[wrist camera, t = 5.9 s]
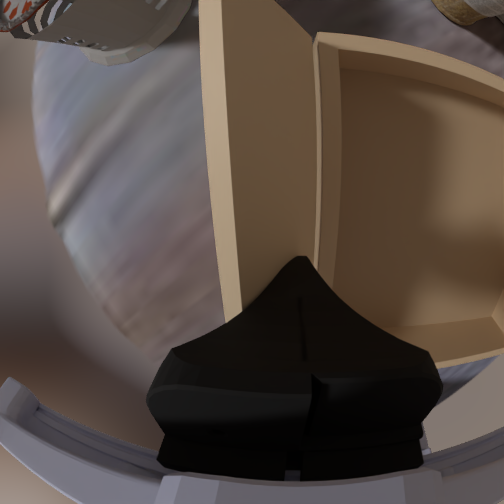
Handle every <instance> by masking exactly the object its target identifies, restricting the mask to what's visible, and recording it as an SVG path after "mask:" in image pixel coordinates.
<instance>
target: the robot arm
mask: <svg viewBox="0 0 504 504" xmlns="http://www.w3.org/2000/svg"><path fill="white" fill-rule="evenodd" d="M442 390H443V384H442V381H441V379H440V376H439V373H438V370H437V368H436V365H435V363H434V361H433V359H432V357H431V355H430V353H429V351H427V350H424V349H422V348H420V347H417V346H415V345H413V344H410V343H408V342H406V341H403V340H401V339H399V338H397V337H395V336H393V335H391V334H390V333H388V332H386V331H384V330H382V329H381V328H379V327H377V326H376V325H374V324H373V323H371V322H370V321H368V320H367V319H365V318H364V317H362V316H361V315H360V314H358V313H357V312H356V311H354V310H353V309H352V308H351V307H350V306H349V305H347V304H346V303H345V302H344V301H343V300H342V299H341V298H340V297H339V296H338V295H337V294H336V293H335V292H334V291H333V290H332V289H331V288H330V287H329V286H328V284H327V283H326V282H325V281H324V279H323V278H322V277H321V276H320V274H319V273H318V272H317V270H316V269H315V267H314V266H313V264H312V263H311V261H310V259H309V258H308V257H307V256H296V257H294V258H293V259H291V260H290V261H289V262H288V263H287V264H286V265H285V266H284V267H282V269H281V270H280V271H279V272H278V274H277V275H276V276H275V277H274V279H273V280H272V281H271V282H270V284H269V285H268V286H267V287H266V288H265V289H264V291H263V292H262V293H261V294H260V295H259V296H258V297H257V298H256V299H255V300H254V301H253V302H252V303H251V304H250V305H249V306H248V307H247V308H246V309H244V310H243V311H242V312H241V313H239V314H238V315H237V316H235V317H234V318H233V319H231V320H230V321H228V322H227V323H225V324H223V325H222V326H220V327H218V328H217V329H215V330H213V331H211V332H209V333H207V334H205V335H203V336H201V337H199V338H197V339H194V340H192V341H189V342H187V343H185V344H182V345H180V346H177V347H174V348H172V349H171V350H170V352H169V354H168V355H167V357H166V358H165V360H164V361H163V363H162V364H161V366H160V368H159V370H158V372H157V374H156V376H155V378H154V380H153V382H152V385H151V387H150V389H149V392H148V394H147V398H146V403H147V406H148V408H149V410H150V412H151V414H152V415H153V417H154V418H155V420H156V421H157V423H158V424H159V426H160V428H161V429H162V430H163V432H164V433H165V436H164V439H163V442H162V444H161V447H160V450H159V451H155V450H152V449H148V448H145V447H141V446H138V445H135V444H132V443H129V442H126V441H123V440H120V439H118V438H115V437H112V436H109V435H107V434H104V433H102V432H99V431H97V430H94V429H92V428H90V427H87V426H85V425H83V424H80V423H78V422H76V421H74V420H72V419H70V418H68V417H66V416H64V415H62V414H60V413H58V412H56V411H54V410H52V409H50V408H48V407H46V406H45V405H43V404H41V403H40V402H39V400H38V399H37V397H36V396H35V395H34V394H33V393H32V392H31V391H30V390H29V389H28V388H27V387H26V386H24V385H23V384H21V383H19V382H18V381H16V380H15V379H13V378H11V377H8V379H7V380H6V382H5V383H4V384H3V385H2V387H1V388H0V444H1V445H2V446H3V447H4V448H5V449H6V450H7V451H9V453H10V454H12V455H13V456H14V457H15V458H16V459H17V460H18V461H20V462H21V463H22V464H23V465H24V466H26V467H27V468H28V469H29V470H30V471H32V472H33V473H34V474H36V475H37V476H38V477H40V478H41V479H42V480H44V481H45V482H46V483H48V484H49V485H50V486H52V487H53V488H55V489H56V490H58V491H59V492H61V493H62V494H64V495H65V496H67V497H68V498H70V499H71V500H73V501H75V502H76V503H78V504H497V503H499V502H500V501H502V500H503V499H504V427H502V428H500V429H498V430H495V431H493V432H491V433H488V434H486V435H484V436H481V437H479V438H476V439H473V440H471V441H468V442H465V443H463V444H460V445H457V446H454V447H451V448H447V449H444V450H441V451H438V452H434V453H431V449H430V448H429V447H428V443H427V438H426V435H425V431H424V426H423V422H422V421H423V420H424V419H425V418H426V417H427V415H428V414H429V413H430V411H431V410H432V409H433V408H434V406H435V405H436V403H437V401H438V400H439V398H440V396H441V394H442Z"/></svg>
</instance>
